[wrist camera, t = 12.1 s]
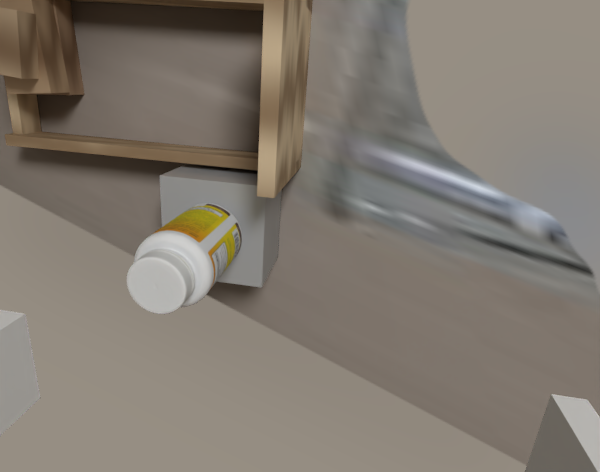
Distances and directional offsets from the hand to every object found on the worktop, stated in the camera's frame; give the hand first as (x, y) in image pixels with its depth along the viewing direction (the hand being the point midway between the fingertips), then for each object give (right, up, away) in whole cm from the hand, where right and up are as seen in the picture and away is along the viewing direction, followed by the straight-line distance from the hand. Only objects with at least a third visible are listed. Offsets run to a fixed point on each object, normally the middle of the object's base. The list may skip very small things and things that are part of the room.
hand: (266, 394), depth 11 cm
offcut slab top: (-23, +21, +27) cm, 41 cm away
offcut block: (-23, +20, +25) cm, 39 cm away
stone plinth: (-6, +7, +32) cm, 33 cm away
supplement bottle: (-7, +4, +25) cm, 26 cm away
